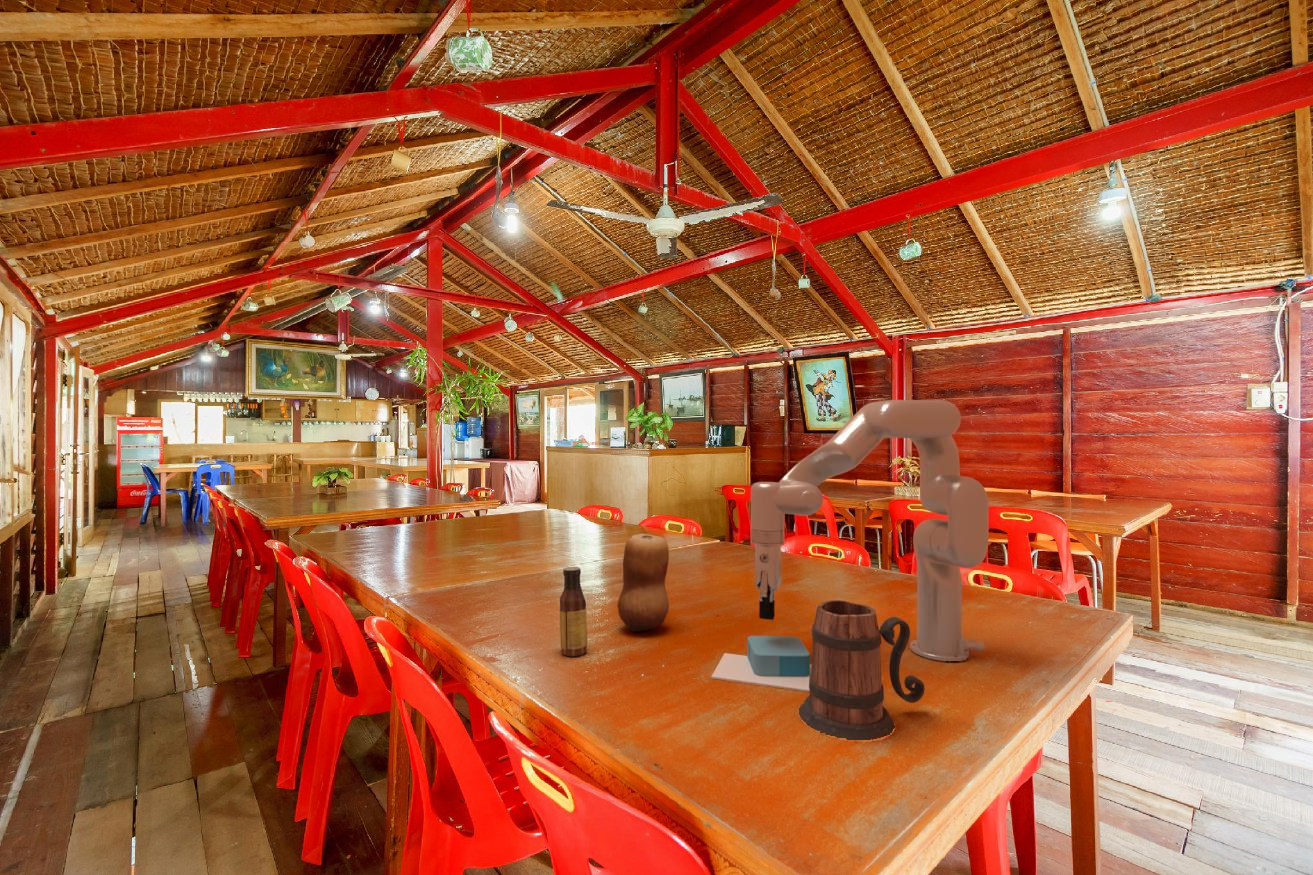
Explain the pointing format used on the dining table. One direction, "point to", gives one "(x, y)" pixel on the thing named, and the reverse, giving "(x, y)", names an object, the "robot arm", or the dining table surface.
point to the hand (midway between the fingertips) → (766, 618)
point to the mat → (742, 672)
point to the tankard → (853, 672)
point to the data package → (778, 656)
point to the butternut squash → (644, 582)
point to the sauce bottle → (573, 615)
